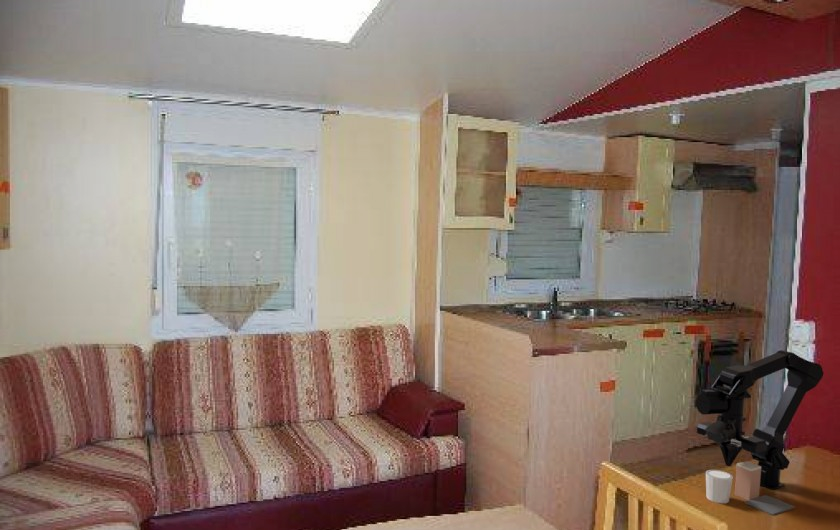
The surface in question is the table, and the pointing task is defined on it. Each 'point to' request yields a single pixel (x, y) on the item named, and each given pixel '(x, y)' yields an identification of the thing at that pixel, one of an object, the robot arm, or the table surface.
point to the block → (747, 480)
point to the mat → (769, 505)
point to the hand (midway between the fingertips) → (728, 465)
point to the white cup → (718, 486)
